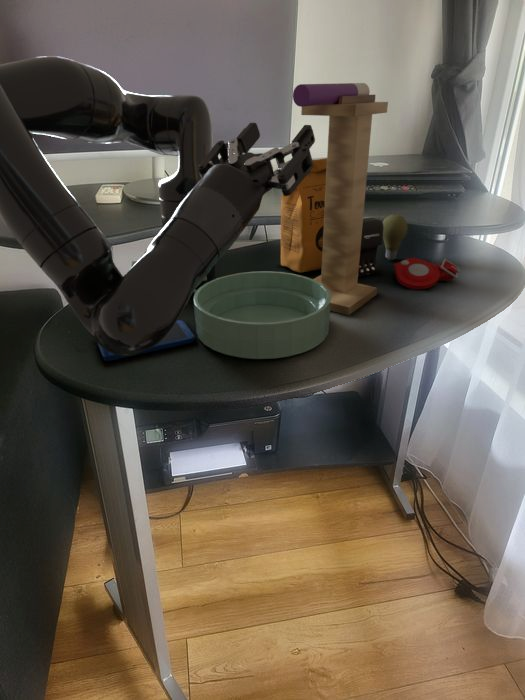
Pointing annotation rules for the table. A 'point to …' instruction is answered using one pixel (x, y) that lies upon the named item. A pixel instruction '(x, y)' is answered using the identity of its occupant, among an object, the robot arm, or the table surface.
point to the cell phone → (173, 338)
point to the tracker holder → (423, 273)
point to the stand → (346, 197)
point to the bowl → (262, 314)
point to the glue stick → (326, 93)
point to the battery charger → (370, 245)
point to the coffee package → (304, 221)
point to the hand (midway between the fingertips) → (282, 129)
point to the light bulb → (393, 234)
